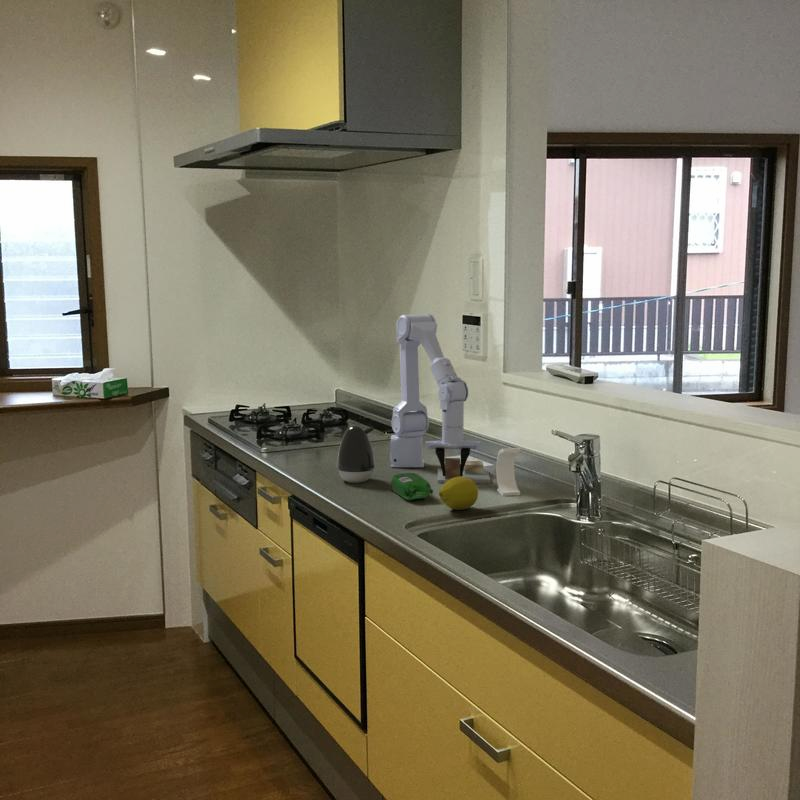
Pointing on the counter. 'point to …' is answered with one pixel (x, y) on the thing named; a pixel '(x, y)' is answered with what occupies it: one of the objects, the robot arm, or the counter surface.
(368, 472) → the egg-shaped speaker
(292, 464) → the counter surface
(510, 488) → the headphone stand
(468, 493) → the lemon
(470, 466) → the base block
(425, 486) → the snack package
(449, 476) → the walnut block
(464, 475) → the board
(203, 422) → the counter surface
